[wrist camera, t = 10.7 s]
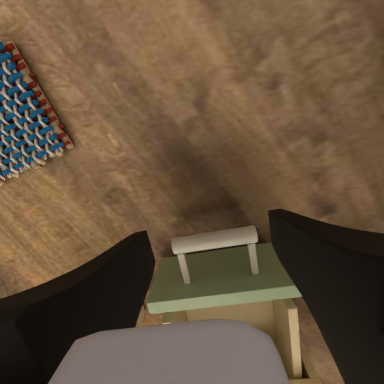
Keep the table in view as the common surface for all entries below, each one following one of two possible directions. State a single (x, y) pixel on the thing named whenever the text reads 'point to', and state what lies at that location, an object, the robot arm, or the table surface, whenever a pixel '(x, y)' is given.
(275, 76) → the table surface
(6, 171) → the woven mat
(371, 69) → the table surface
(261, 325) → the drawer
